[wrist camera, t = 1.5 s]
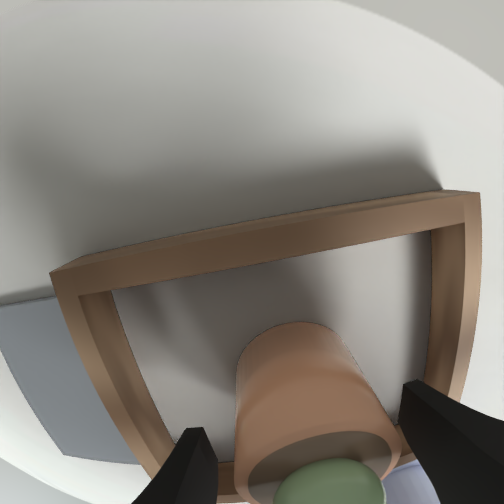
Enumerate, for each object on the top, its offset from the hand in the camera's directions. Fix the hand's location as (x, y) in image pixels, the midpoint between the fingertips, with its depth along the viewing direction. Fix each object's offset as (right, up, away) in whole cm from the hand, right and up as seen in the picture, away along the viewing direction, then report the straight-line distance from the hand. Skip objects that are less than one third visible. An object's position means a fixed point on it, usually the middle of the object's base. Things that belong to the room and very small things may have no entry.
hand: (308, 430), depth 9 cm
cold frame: (0, +1, +4) cm, 4 cm away
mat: (-12, -2, +4) cm, 13 cm away
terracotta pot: (0, +1, +4) cm, 4 cm away
